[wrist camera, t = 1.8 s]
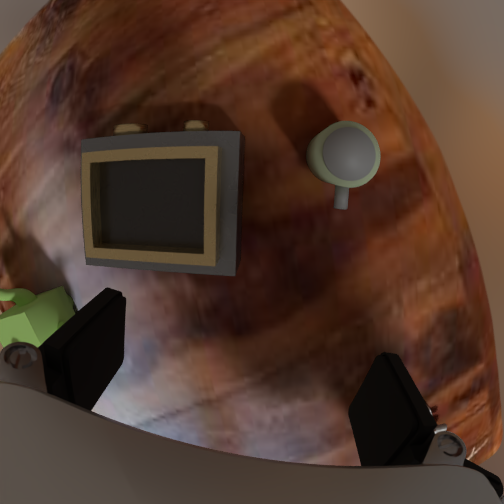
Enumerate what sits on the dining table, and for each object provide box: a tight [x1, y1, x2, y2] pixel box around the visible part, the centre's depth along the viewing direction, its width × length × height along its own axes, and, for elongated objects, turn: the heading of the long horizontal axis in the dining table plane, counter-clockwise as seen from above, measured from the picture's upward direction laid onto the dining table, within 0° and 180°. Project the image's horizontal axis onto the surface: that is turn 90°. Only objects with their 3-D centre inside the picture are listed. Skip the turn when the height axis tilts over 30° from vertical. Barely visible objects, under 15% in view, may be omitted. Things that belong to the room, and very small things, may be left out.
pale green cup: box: [306, 121, 380, 209], centre depth 27 cm, size 6×7×7 cm
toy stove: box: [81, 120, 245, 276], centre depth 29 cm, size 16×14×7 cm
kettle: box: [0, 286, 75, 348], centre depth 32 cm, size 15×14×11 cm
